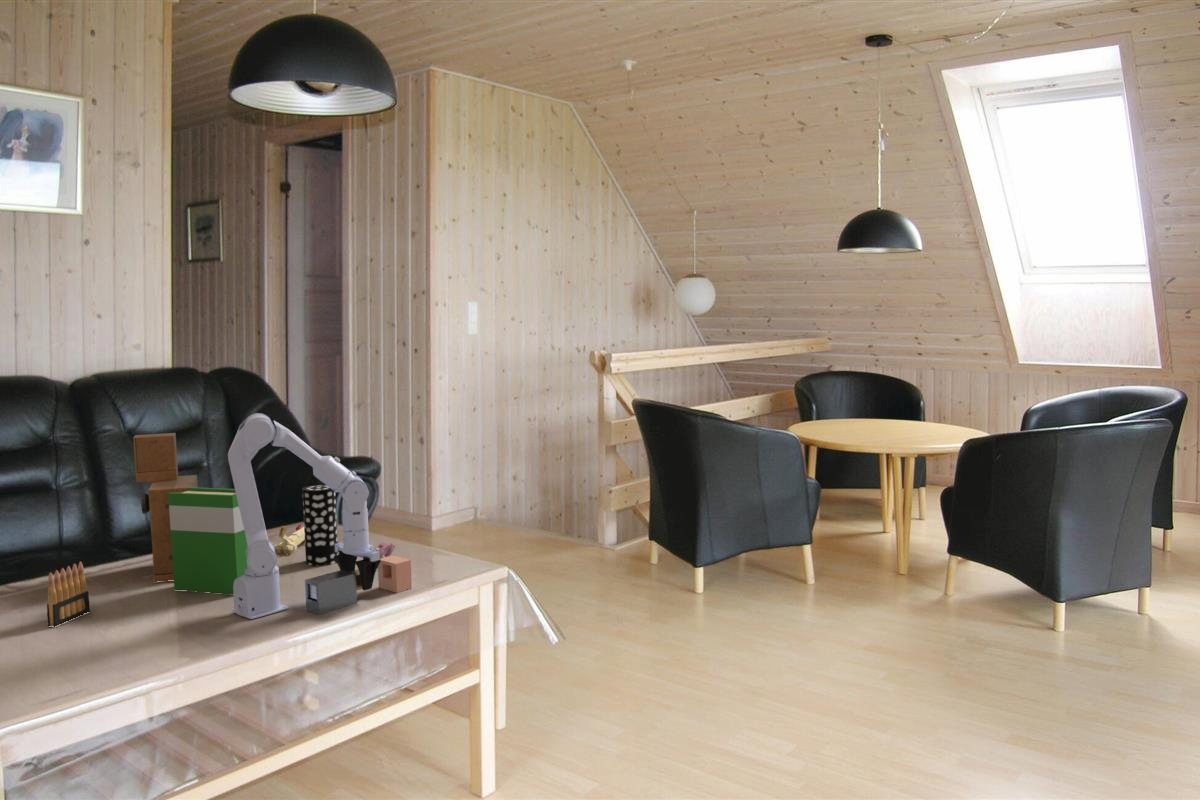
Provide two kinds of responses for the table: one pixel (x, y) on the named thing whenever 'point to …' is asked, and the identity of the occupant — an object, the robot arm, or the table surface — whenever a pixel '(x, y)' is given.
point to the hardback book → (207, 539)
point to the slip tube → (358, 584)
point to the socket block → (394, 574)
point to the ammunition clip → (67, 595)
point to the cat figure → (290, 540)
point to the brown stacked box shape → (160, 493)
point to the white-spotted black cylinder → (320, 525)
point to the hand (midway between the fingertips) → (358, 586)
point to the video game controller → (385, 549)
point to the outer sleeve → (331, 591)
